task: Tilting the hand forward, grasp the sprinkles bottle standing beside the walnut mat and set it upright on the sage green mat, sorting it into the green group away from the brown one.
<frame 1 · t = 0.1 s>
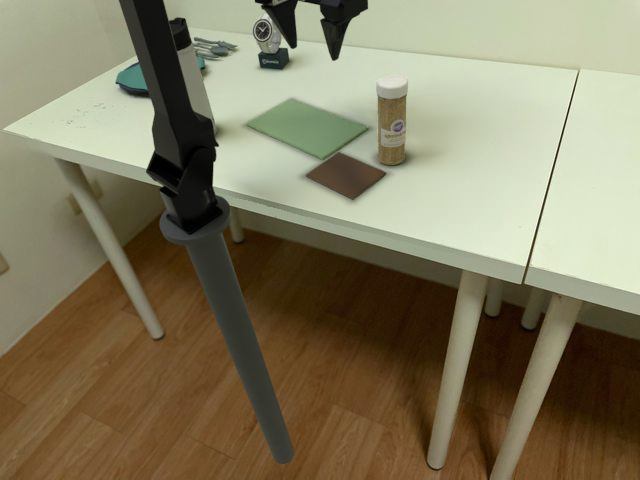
hand: (314, 53, 75), 14 cm above the table, tool pointing down, fingers open, 9 cm apart
sprinkles bottle: (391, 159, 77), on the table
green mat: (305, 127, 86), on the table
walnut mat: (345, 175, 74), on the table
cutlery set: (179, 70, 112), on the table
travel mug: (201, 134, 89), on the table
watch: (275, 65, 109), on the table
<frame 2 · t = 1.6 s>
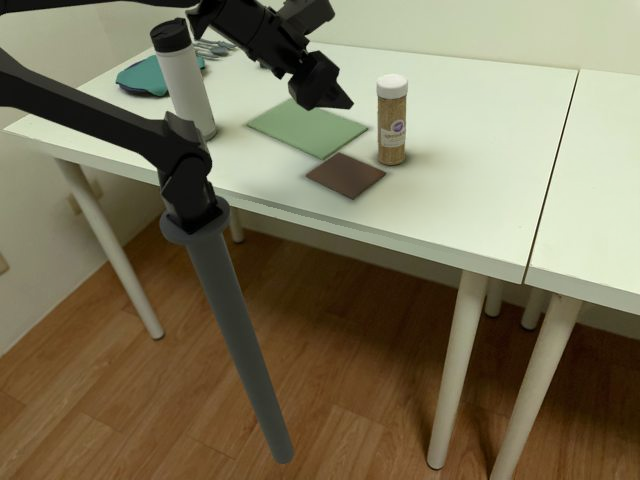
hand: (338, 92, 66), 13 cm above the table, tool tilted 45°, fingers open, 9 cm apart
nothing on the table moved.
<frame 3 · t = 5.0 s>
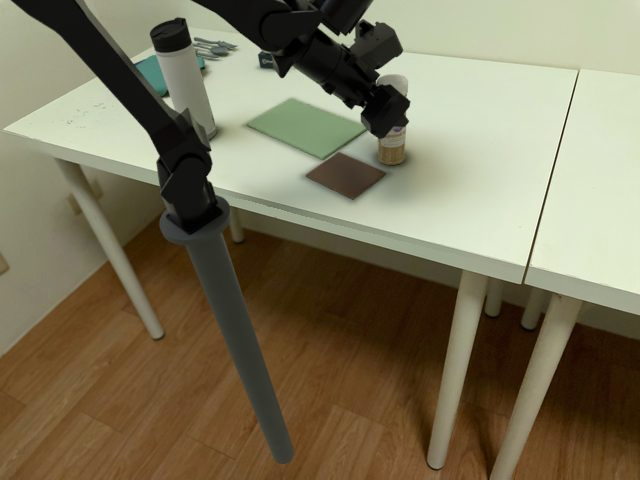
hand: (400, 117, 72), 7 cm above the table, tool tilted 45°, fingers closed on sprinkles bottle, 4 cm apart
sprinkles bottle: (391, 159, 77), on the table, touching gripper
everything else where it was.
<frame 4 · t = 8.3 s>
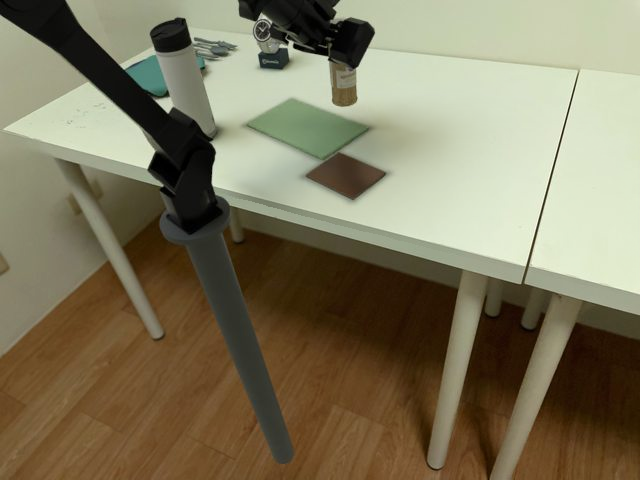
hand: (348, 58, 77), 12 cm above the table, tool tilted 45°, fingers closed on sprinkles bottle, 4 cm apart
sprinkles bottle: (344, 102, 81), point 5 cm above the table, touching gripper
everything else where it was.
when the fingers open (8 cm above the table, at t = 11.6 s): sprinkles bottle stays where it is, resting on green mat.
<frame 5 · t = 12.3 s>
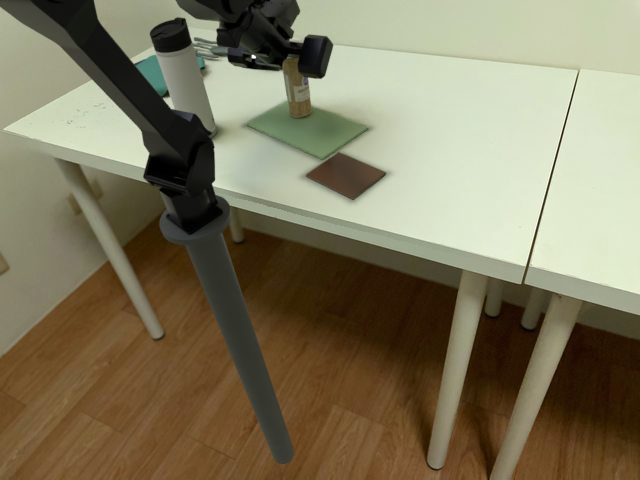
hand: (300, 71, 85), 8 cm above the table, tool tilted 45°, fingers open, 9 cm apart
sprinkles bottle: (301, 114, 90), resting on green mat
everything else where it was.
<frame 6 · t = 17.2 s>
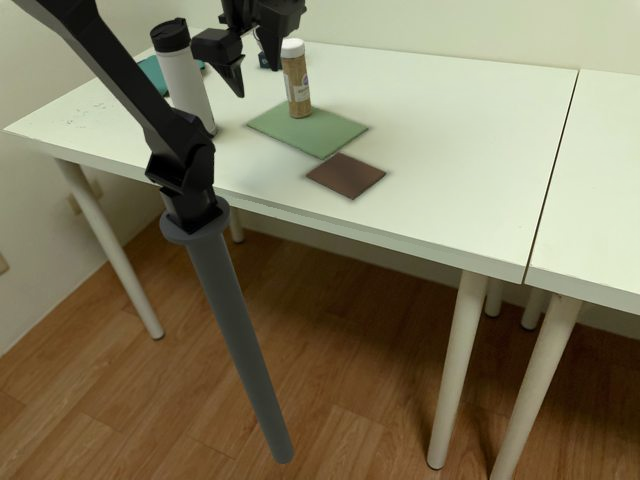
hand: (258, 83, 72), 13 cm above the table, tool pointing down, fingers open, 9 cm apart
nothing on the table moved.
at the end: sprinkles bottle inside the target area (4.2 cm from its centre), resting on green mat; sprinkles bottle tilted 0°; the gripper is holding nothing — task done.
